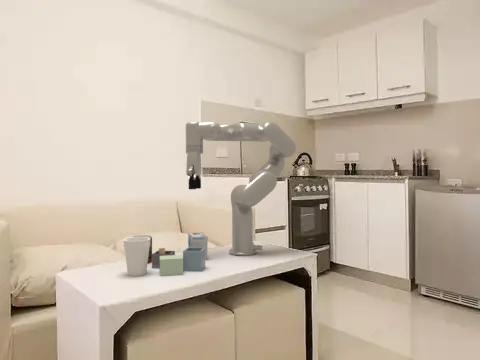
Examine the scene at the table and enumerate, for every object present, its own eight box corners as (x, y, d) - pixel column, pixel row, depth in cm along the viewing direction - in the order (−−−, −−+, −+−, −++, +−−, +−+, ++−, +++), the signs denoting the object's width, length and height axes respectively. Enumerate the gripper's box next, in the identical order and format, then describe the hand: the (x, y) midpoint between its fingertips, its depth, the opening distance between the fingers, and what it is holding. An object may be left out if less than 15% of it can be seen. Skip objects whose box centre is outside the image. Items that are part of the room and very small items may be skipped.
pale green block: (181, 271, 139) (181, 254, 139) (182, 276, 133) (182, 258, 133) (159, 273, 137) (159, 255, 137) (160, 277, 131) (160, 259, 131)
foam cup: (151, 277, 131) (150, 240, 131) (123, 279, 128) (123, 241, 128) (149, 270, 140) (149, 236, 140) (124, 272, 138) (123, 237, 137)
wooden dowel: (165, 265, 146) (165, 248, 146) (164, 267, 144) (163, 249, 144) (160, 265, 146) (159, 248, 146) (158, 267, 144) (157, 249, 144)
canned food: (147, 265, 148) (147, 238, 148) (128, 264, 150) (128, 237, 150) (155, 261, 156) (155, 235, 156) (137, 260, 157) (137, 234, 157)
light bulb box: (187, 257, 164) (187, 232, 164) (202, 256, 167) (202, 232, 166) (192, 262, 154) (192, 236, 154) (208, 261, 156) (208, 235, 156)
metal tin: (174, 265, 149) (174, 250, 149) (169, 270, 142) (169, 254, 142) (158, 265, 149) (157, 250, 149) (152, 269, 142) (151, 254, 142)
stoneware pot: (205, 268, 144) (205, 247, 144) (201, 272, 137) (201, 251, 137) (187, 267, 145) (187, 247, 145) (183, 272, 138) (182, 251, 138)
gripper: (190, 151, 173) (191, 188, 173) (181, 149, 156) (181, 189, 156) (206, 151, 172) (207, 188, 172) (198, 148, 155) (199, 189, 155)
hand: (195, 188), depth 164 cm, fingers open, 9 cm apart
